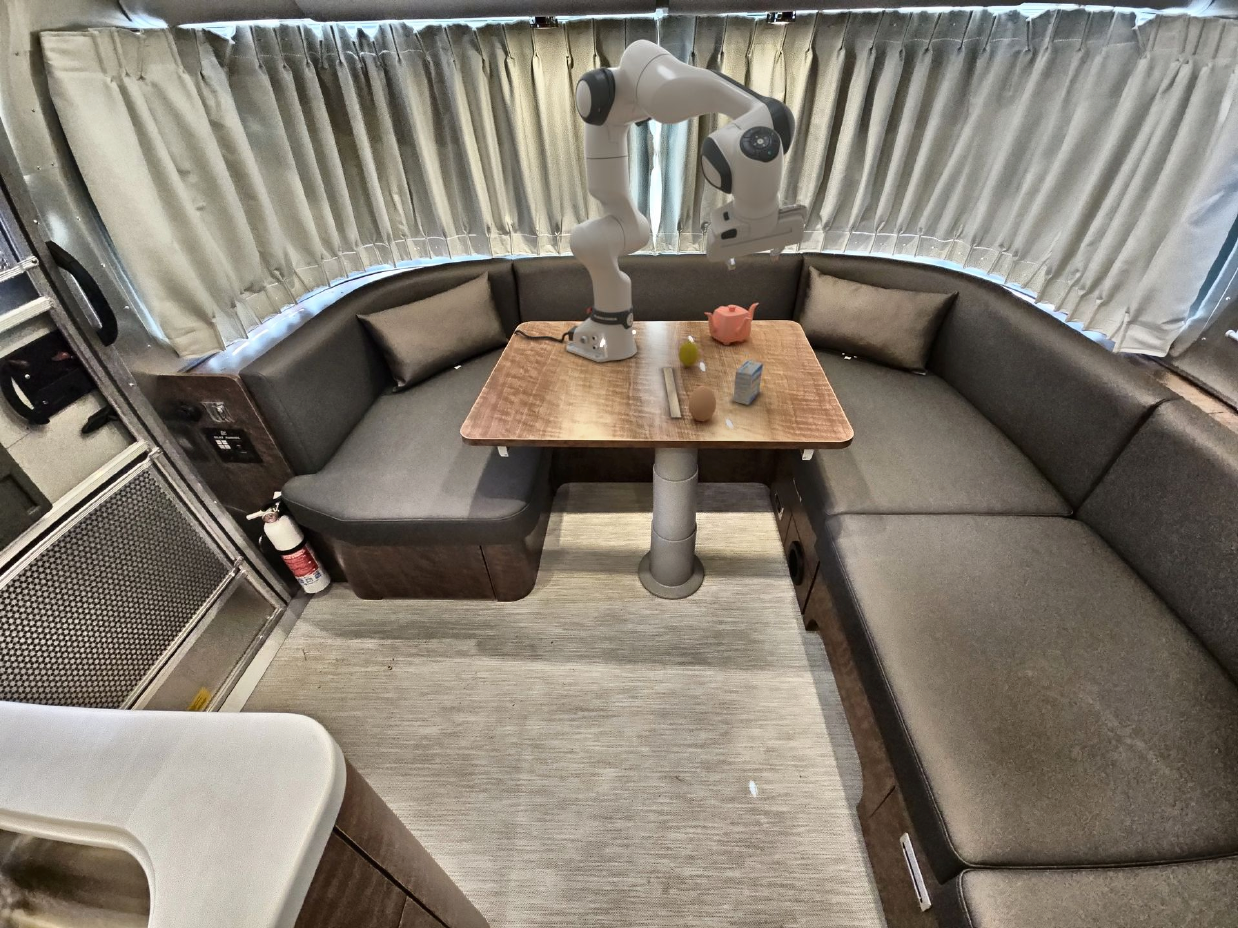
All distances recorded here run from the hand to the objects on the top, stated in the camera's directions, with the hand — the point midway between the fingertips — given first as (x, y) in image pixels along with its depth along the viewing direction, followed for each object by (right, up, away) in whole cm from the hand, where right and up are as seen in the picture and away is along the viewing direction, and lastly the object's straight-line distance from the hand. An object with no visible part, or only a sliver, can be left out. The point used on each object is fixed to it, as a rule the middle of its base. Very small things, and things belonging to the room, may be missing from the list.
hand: (752, 263), depth 118 cm
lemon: (-10, -16, +37) cm, 42 cm away
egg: (-9, -34, +13) cm, 38 cm away
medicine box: (+4, -27, +22) cm, 35 cm away
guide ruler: (-16, -25, +25) cm, 39 cm away
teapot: (+6, -5, +53) cm, 53 cm away
